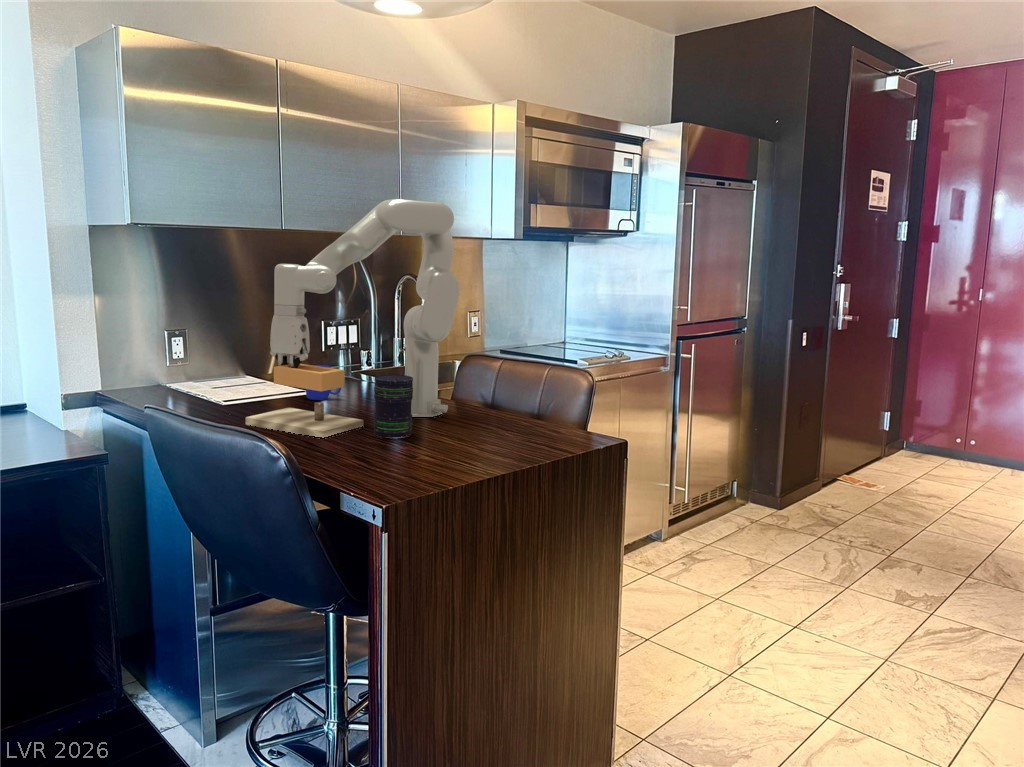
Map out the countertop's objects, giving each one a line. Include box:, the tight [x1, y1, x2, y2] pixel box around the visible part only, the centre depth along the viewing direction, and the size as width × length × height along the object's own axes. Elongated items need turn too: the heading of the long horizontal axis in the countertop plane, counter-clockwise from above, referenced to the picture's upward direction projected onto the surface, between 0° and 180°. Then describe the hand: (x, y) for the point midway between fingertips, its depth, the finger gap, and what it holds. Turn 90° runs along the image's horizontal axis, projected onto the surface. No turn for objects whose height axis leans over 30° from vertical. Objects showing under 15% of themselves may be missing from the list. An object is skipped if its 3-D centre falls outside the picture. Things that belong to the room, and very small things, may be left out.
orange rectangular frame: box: [273, 363, 346, 391], centre depth 198 cm, size 16×9×4 cm, turn 63°
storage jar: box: [373, 374, 413, 437], centre depth 194 cm, size 10×10×15 cm
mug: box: [305, 364, 342, 401], centre depth 235 cm, size 8×12×10 cm
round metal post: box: [314, 401, 325, 421], centre depth 199 cm, size 2×2×4 cm
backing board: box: [245, 407, 364, 438], centre depth 200 cm, size 26×16×2 cm, turn 63°
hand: (288, 380), depth 202 cm, fingers closed on orange rectangular frame, 2 cm apart
